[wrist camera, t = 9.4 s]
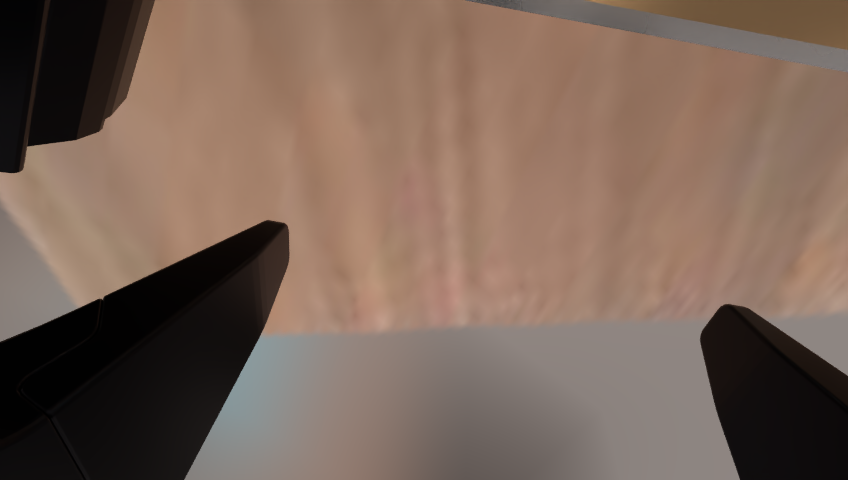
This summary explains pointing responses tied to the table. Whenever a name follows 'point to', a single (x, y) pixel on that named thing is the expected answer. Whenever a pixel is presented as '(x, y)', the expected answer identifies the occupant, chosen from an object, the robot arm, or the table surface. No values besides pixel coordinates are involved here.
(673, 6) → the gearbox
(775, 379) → the robot arm
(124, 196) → the table surface
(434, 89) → the table surface
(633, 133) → the table surface
